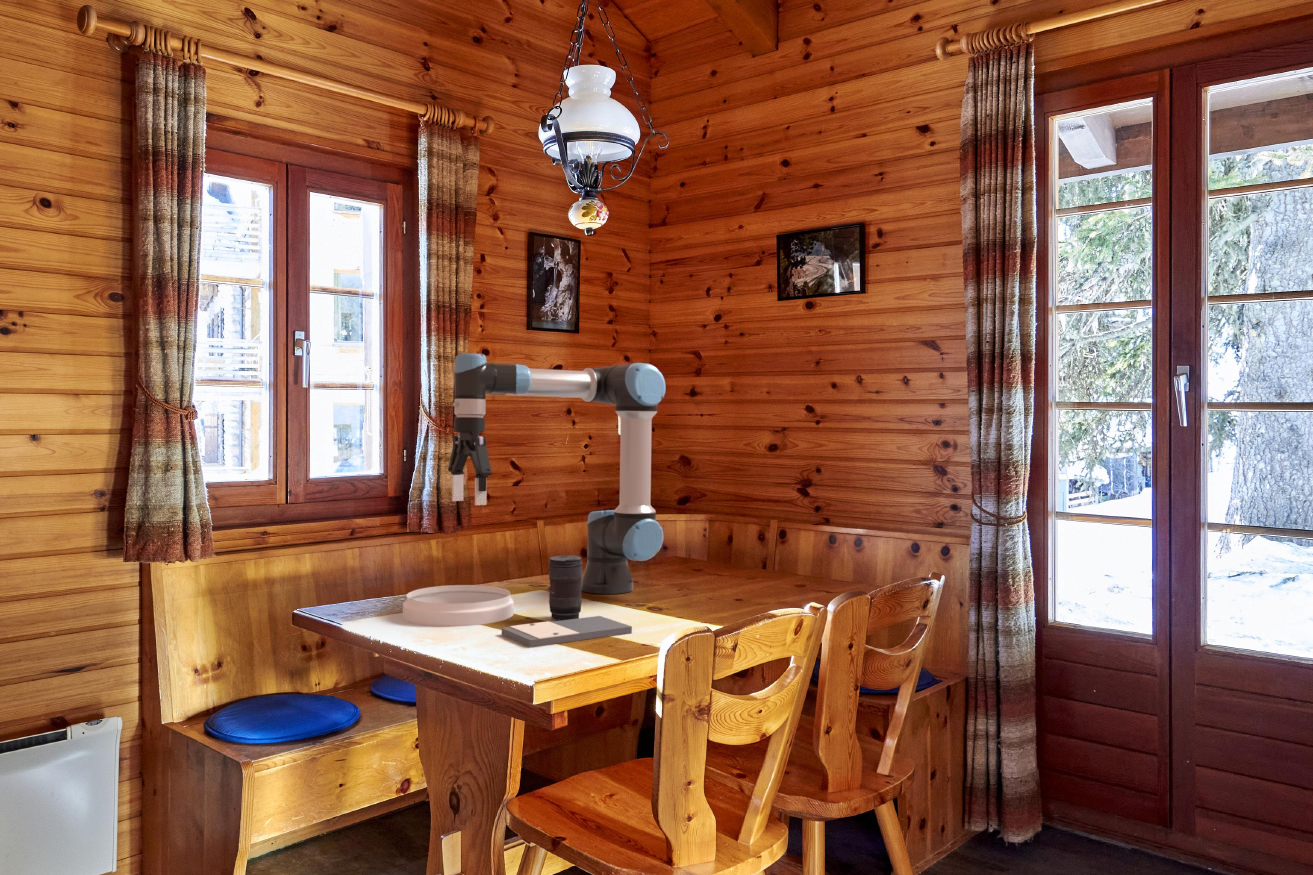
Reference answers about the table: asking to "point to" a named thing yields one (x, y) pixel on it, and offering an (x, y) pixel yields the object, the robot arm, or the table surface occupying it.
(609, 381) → the robot arm
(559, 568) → the camera lens
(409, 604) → the white round tray
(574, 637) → the board
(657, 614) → the table surface
